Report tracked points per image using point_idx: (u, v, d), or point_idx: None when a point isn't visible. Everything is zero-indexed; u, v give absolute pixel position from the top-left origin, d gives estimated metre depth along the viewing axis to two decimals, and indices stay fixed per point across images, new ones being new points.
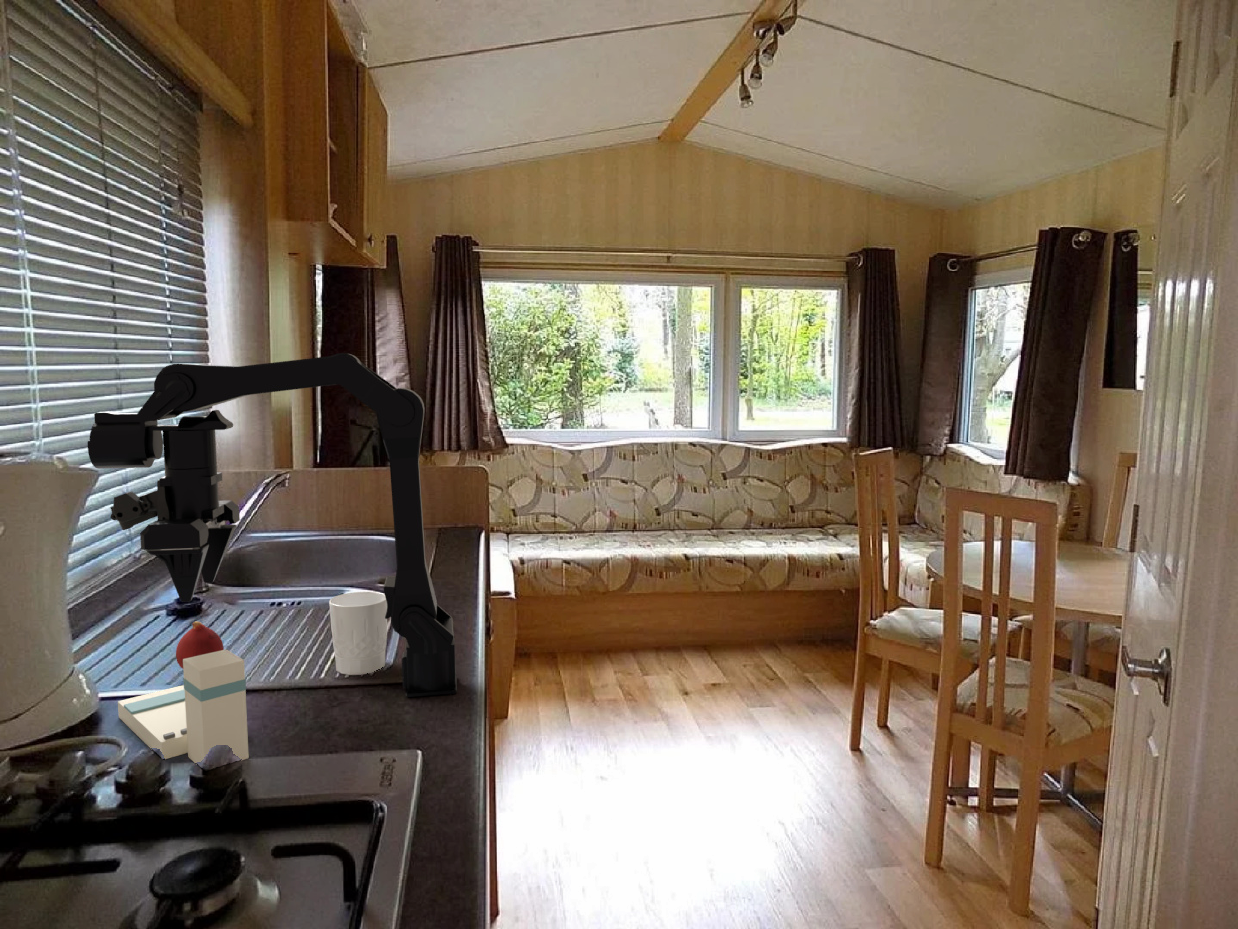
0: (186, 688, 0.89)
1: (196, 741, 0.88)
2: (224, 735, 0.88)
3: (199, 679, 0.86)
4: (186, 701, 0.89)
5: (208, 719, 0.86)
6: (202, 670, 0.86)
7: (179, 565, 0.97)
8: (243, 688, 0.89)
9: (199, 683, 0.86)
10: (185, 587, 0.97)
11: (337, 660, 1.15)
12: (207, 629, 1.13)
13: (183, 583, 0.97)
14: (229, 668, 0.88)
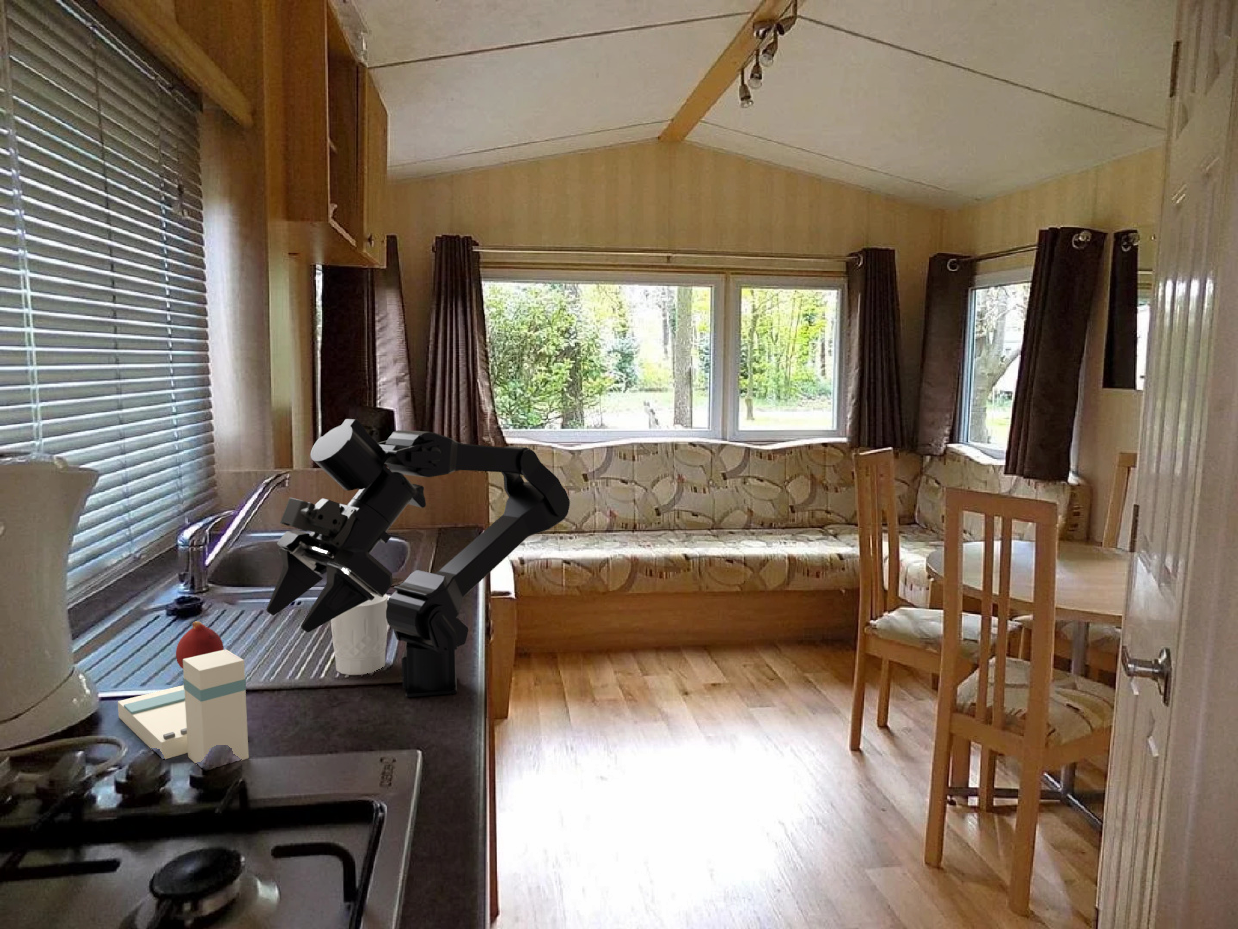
0: (186, 688, 0.89)
1: (196, 741, 0.88)
2: (223, 735, 0.88)
3: (199, 679, 0.86)
4: (186, 701, 0.89)
5: (208, 719, 0.86)
6: (202, 670, 0.86)
7: (334, 596, 0.92)
8: (243, 688, 0.89)
9: (199, 683, 0.86)
10: (319, 618, 0.92)
11: (337, 660, 1.15)
12: (207, 629, 1.13)
13: (322, 613, 0.92)
14: (229, 668, 0.88)
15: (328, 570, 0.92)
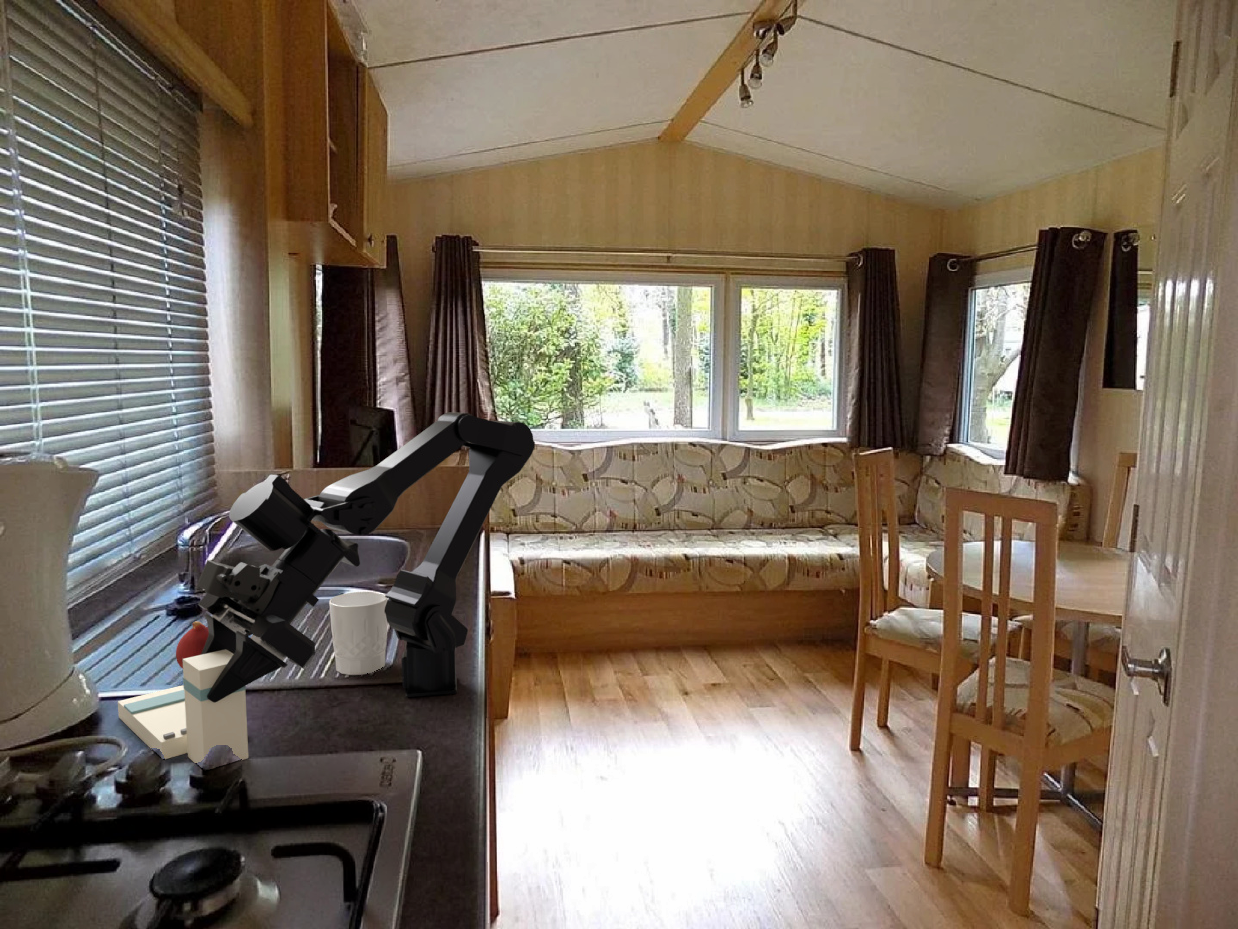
0: (186, 688, 0.89)
1: (196, 741, 0.88)
2: (223, 735, 0.88)
3: (199, 678, 0.86)
4: (186, 701, 0.89)
5: (208, 719, 0.86)
6: (202, 670, 0.86)
7: (244, 663, 0.87)
8: (243, 688, 0.89)
9: (199, 683, 0.86)
10: (227, 687, 0.87)
11: (337, 660, 1.15)
12: (207, 629, 1.13)
13: (230, 682, 0.87)
14: None
15: (237, 637, 0.87)
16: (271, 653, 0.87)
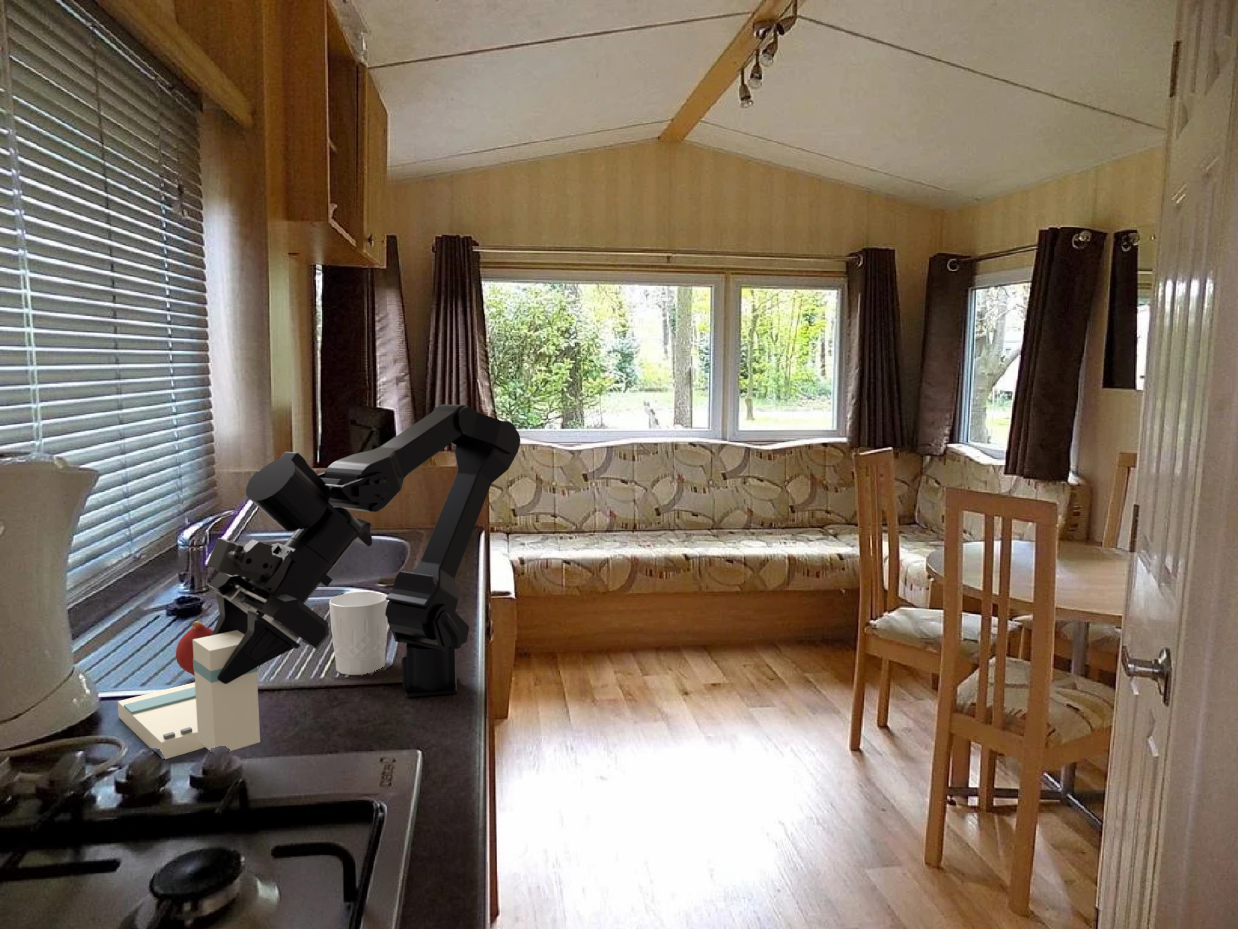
0: (196, 669, 0.86)
1: (207, 724, 0.85)
2: (234, 718, 0.85)
3: (209, 659, 0.83)
4: (196, 683, 0.86)
5: (219, 701, 0.84)
6: (212, 650, 0.83)
7: (256, 644, 0.85)
8: (254, 669, 0.86)
9: (209, 664, 0.83)
10: (238, 668, 0.84)
11: (337, 660, 1.15)
12: (207, 629, 1.13)
13: (241, 663, 0.84)
14: None
15: (249, 616, 0.84)
16: (283, 633, 0.84)
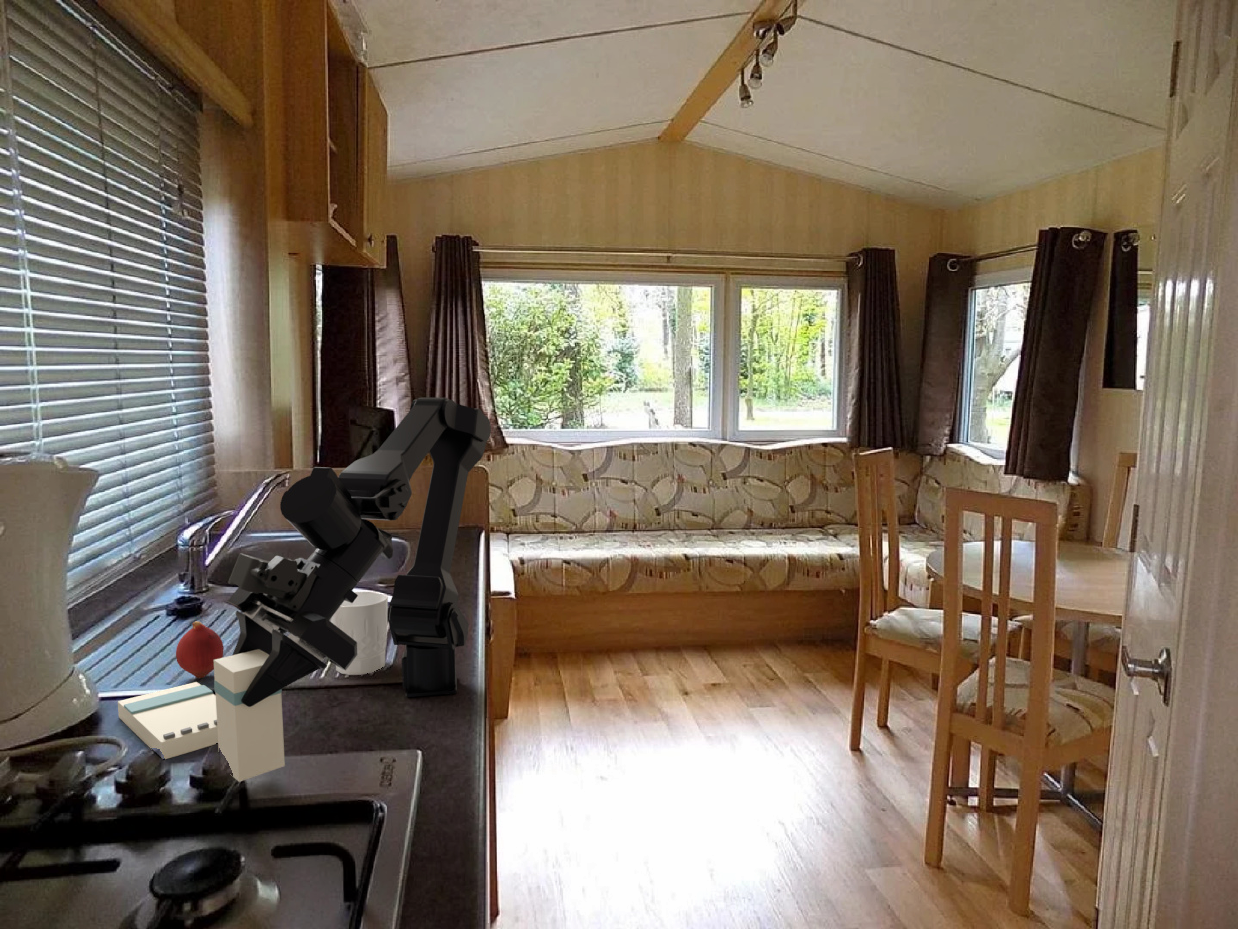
0: (217, 691, 0.82)
1: (229, 748, 0.81)
2: (258, 742, 0.81)
3: (233, 681, 0.79)
4: (217, 705, 0.83)
5: (242, 724, 0.80)
6: (236, 672, 0.79)
7: (281, 665, 0.81)
8: (279, 691, 0.82)
9: (232, 686, 0.79)
10: (263, 690, 0.80)
11: None
12: (207, 629, 1.13)
13: (266, 685, 0.80)
14: None
15: (274, 636, 0.80)
16: (310, 653, 0.81)
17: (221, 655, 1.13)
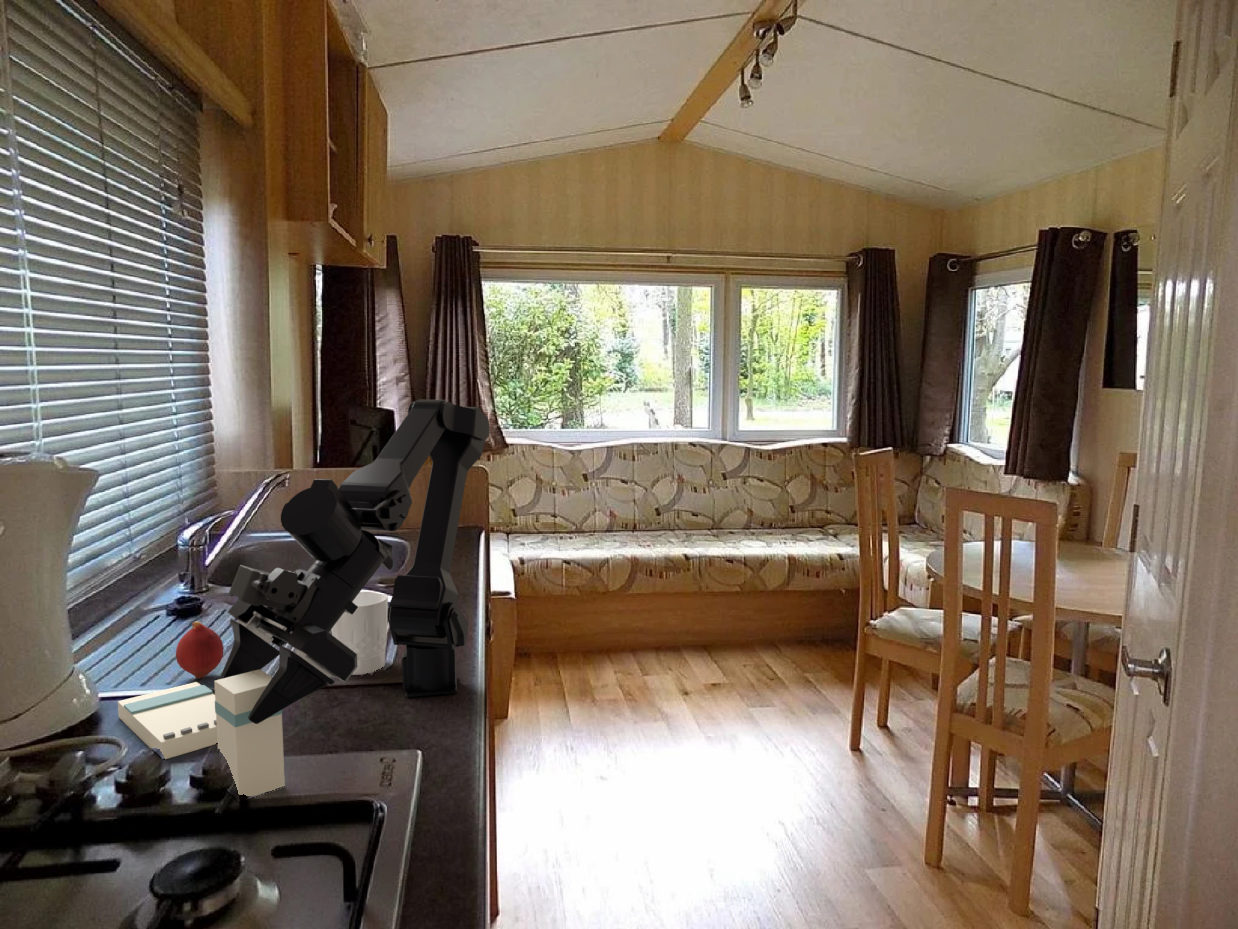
0: (218, 712, 0.82)
1: None
2: (259, 763, 0.82)
3: (234, 702, 0.79)
4: (218, 726, 0.83)
5: (243, 746, 0.80)
6: (237, 693, 0.79)
7: (288, 681, 0.80)
8: (279, 712, 0.83)
9: (233, 707, 0.80)
10: (270, 707, 0.79)
11: None
12: (207, 629, 1.13)
13: (273, 702, 0.79)
14: None
15: (281, 652, 0.79)
16: (318, 670, 0.80)
17: (221, 655, 1.13)
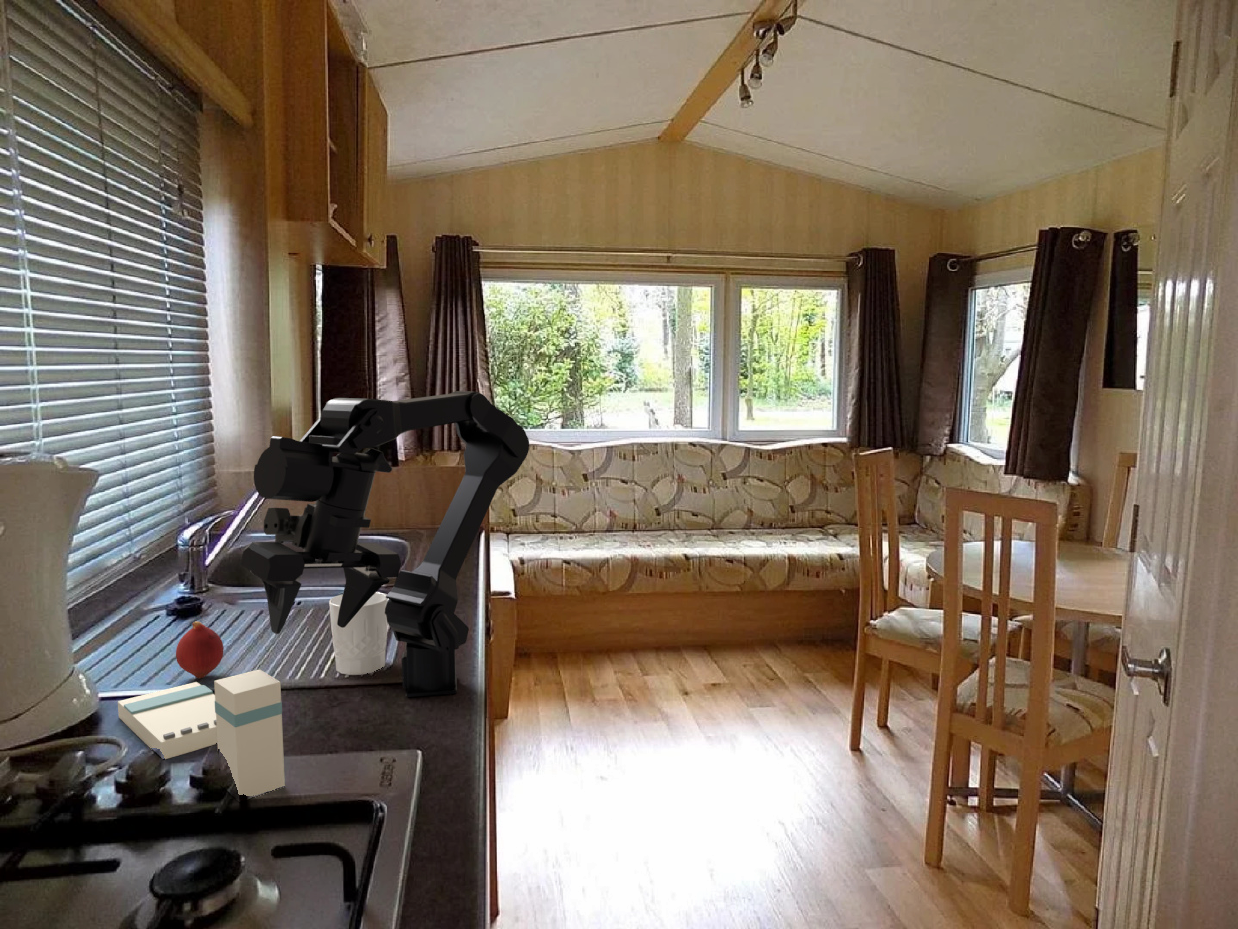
0: (218, 712, 0.82)
1: None
2: (259, 763, 0.82)
3: (234, 703, 0.79)
4: (218, 726, 0.83)
5: (243, 746, 0.80)
6: (237, 693, 0.79)
7: (275, 593, 0.93)
8: (279, 712, 0.83)
9: (233, 707, 0.80)
10: (274, 618, 0.93)
11: (337, 660, 1.15)
12: (207, 629, 1.13)
13: (273, 613, 0.93)
14: (264, 690, 0.81)
15: None
16: None
17: (221, 655, 1.13)
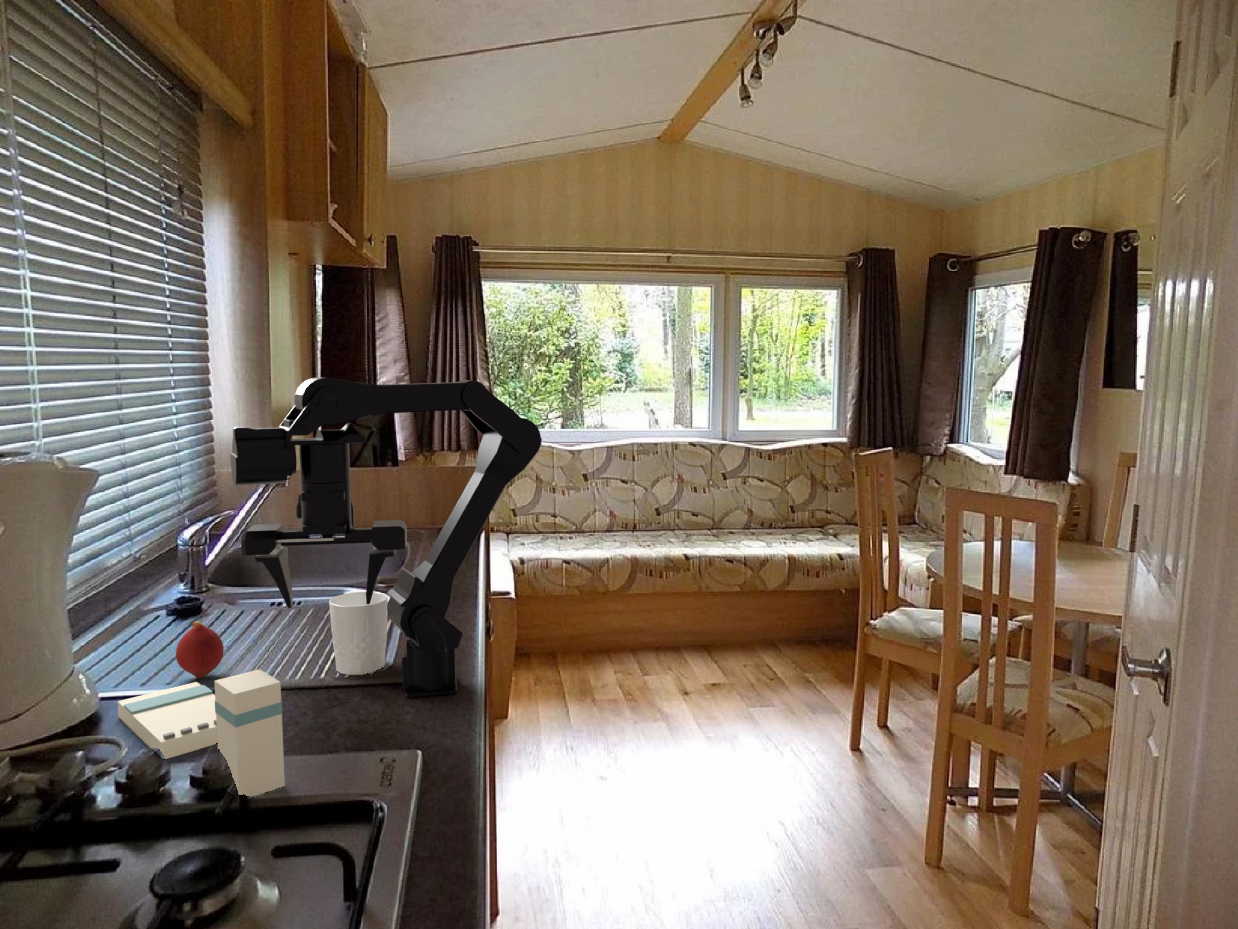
0: (218, 712, 0.82)
1: None
2: (259, 763, 0.82)
3: (234, 703, 0.79)
4: (218, 726, 0.83)
5: (243, 746, 0.80)
6: (237, 693, 0.79)
7: None
8: (279, 712, 0.83)
9: (233, 707, 0.80)
10: None
11: (337, 660, 1.15)
12: (207, 629, 1.13)
13: None
14: (264, 690, 0.81)
15: None
16: None
17: (221, 655, 1.13)
